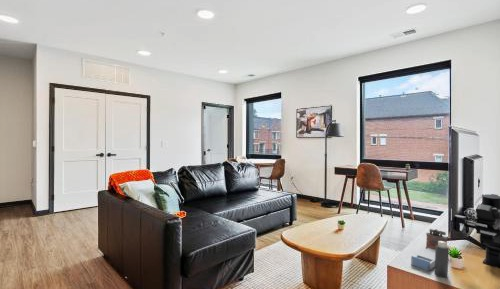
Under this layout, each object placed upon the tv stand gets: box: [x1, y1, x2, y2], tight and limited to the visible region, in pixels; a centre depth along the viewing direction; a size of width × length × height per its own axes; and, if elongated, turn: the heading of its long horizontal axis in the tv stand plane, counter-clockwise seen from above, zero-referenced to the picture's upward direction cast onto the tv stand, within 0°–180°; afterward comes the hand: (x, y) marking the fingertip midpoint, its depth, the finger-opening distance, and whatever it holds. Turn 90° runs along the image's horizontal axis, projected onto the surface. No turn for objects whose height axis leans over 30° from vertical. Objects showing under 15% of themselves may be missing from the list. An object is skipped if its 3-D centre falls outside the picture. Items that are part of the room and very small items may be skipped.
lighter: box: [425, 228, 448, 250], centre depth 121 cm, size 8×3×10 cm, turn 40°
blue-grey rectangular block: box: [410, 248, 435, 272], centre depth 111 cm, size 18×6×4 cm, turn 129°
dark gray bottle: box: [434, 241, 450, 279], centre depth 100 cm, size 4×4×12 cm
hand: (476, 236), depth 95 cm, fingers open, 9 cm apart
